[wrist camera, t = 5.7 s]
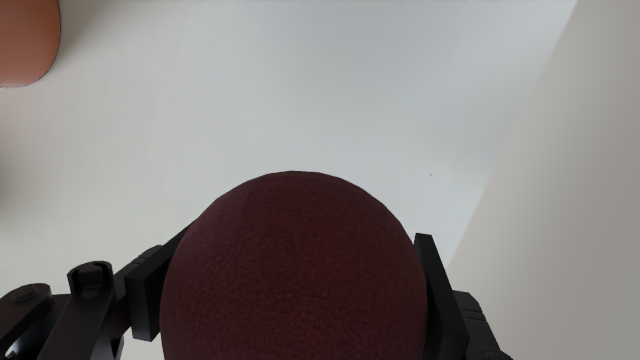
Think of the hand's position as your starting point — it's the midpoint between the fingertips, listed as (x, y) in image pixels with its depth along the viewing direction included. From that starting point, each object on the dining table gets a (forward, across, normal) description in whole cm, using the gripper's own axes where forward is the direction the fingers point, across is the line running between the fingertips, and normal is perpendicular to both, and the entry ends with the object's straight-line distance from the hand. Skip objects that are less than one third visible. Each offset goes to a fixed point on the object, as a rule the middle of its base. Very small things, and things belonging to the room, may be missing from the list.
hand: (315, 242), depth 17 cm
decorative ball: (+1, 0, 0) cm, 1 cm away
